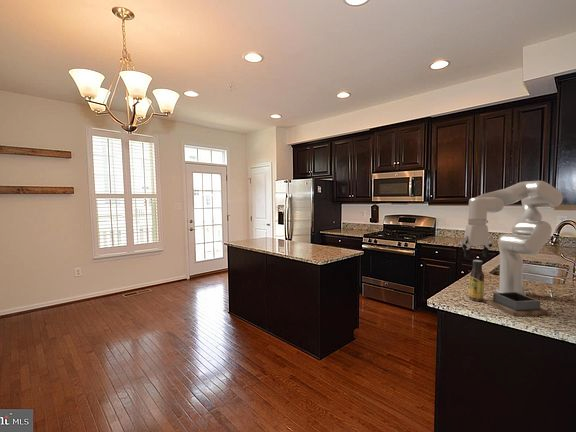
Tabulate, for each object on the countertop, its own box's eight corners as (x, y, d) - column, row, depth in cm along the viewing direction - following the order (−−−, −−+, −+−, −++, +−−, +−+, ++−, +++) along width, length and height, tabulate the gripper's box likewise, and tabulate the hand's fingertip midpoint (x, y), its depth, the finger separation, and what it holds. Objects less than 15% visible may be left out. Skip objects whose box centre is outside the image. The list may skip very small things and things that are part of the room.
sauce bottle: (465, 297, 146) (466, 259, 144) (477, 297, 146) (477, 258, 145) (475, 302, 139) (475, 262, 138) (487, 301, 140) (487, 261, 138)
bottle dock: (517, 301, 138) (517, 290, 138) (547, 314, 123) (548, 301, 123) (486, 303, 137) (486, 292, 137) (513, 316, 122) (513, 303, 122)
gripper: (487, 222, 145) (486, 255, 146) (455, 222, 143) (454, 256, 144) (499, 223, 137) (498, 258, 138) (466, 223, 136) (464, 259, 137)
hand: (476, 257), depth 141 cm, fingers open, 9 cm apart
